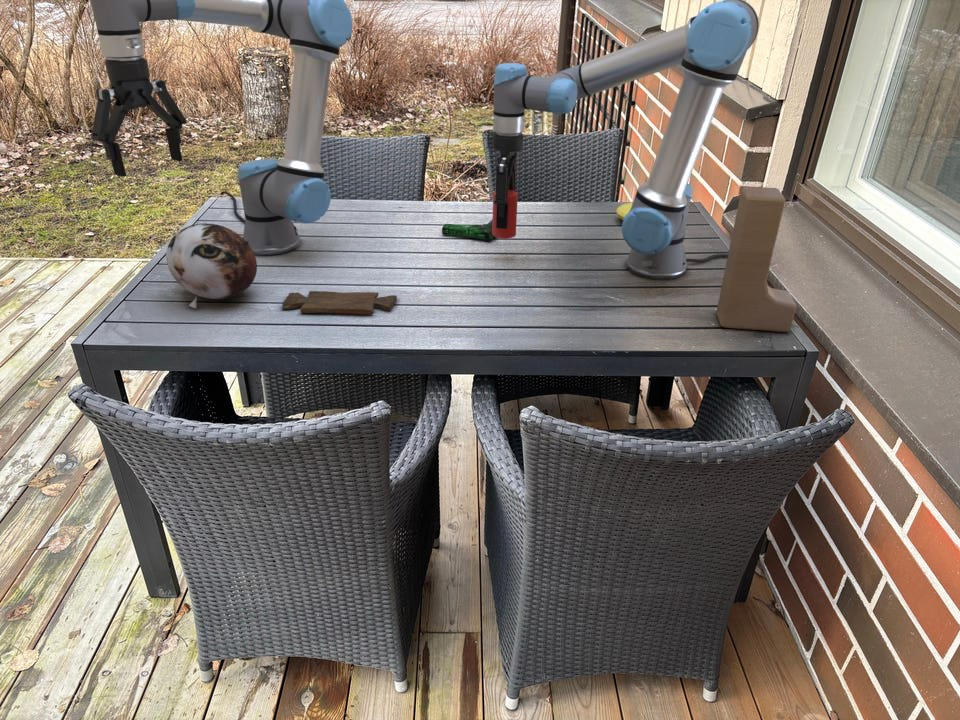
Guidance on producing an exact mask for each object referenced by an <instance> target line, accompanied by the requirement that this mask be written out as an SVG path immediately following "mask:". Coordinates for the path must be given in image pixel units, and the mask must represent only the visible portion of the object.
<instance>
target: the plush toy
mask: <svg viewBox="0 0 960 720" xmlns="http://www.w3.org/2000/svg"><path fill="white" fill-rule="evenodd" d="M248 242H249V241H246V240H245V239H244V238H243V236H242V235H240V234H239V233H238V232H236V231H234V230H233V229H231V228H229V227H226V226H223V225H220V224H215V223H205V222H204V223H195V224H191V225H188V226H186V227H183V228H182V229H180V230H179V231H177V232H176V233H175V234H174V235H173V237H171V239H170V241H169V243H168V245H167V248H166V254H165V260H166V265H167V268H168V271H169V273H170V275H171V276H172V277H173V279H174V280H175V281H176V282H177V284H178V285H180V286H181V287H182V288H183V289H185V290H186V291H187V292H189V293H191V294H194V295H195V298H194V299H193V300H192V302H190V303H189V304H188V306H189V307H191V308H192V309H197V308H198V307H197V298H198V297H201V298H205V299H210V300H226V299H230V298H233V297H236V296H238V295H241V294H242V293H244V292H245V291H247V290H248V289H249V288H250V286H251V285H252V284H253V282H254V280H255V278H256V275H257V271H258V262H257V257H256V254H254V252H253V250H252V248H251V247H250V245H249V244H248Z"/></svg>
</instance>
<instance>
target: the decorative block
mask: <svg viewBox="0 0 960 720" xmlns="http://www.w3.org/2000/svg"><path fill="white" fill-rule="evenodd" d="M785 205H786V198H785V196H784V195H783V193H782V192H781V191H780V189H779V188H777V187H766V186H765V187H764V186H748V185H747V186H746V185H745V186H742V187H741V190H740V195H739V200H738V205H737V209H736V215H735V219H734V225H733V229H732V233H731V234H732V235H731V238H730V242H729V249H728V253H727V254H728V257H726V263H725V268H724V273H723V277H722V283H721V287H720V292H719V297H718V302H717V307H716V316H717V318H718V321H719V325H720V327H721V328H727V329H740V330H754V331H767V332H780V333H789V332H791V330H792V325H793V322H794V318H795V315H796V311H797V303H796V301H795V300H794V298H793V296H792V295H791V293H790V292H789V291H788V290H783V289H778V288H774V287H771V286H769V285H768V276H769V272H770V266H771V262H772V259H773V254H774V250H775V247H776V242H777V238H778V234H779V230H780V225H781V221H782V217H783V212H784V208H785Z"/></svg>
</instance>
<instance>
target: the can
mask: <svg viewBox="0 0 960 720" xmlns="http://www.w3.org/2000/svg"><path fill="white" fill-rule="evenodd" d="M516 191H517V190H516ZM516 191H513V190H508V198H507V203H508V220H507V229H501V228H496V219H497V204H494V201H495V197H496V190H494V191H493V193H492V218H493V219H491V221H492V235H493V236H494V237H495V238H497V239H504V240H505V239H512V238H515V237H516V236H517V219H518V217H517V216H518V200H519V199H518V196H519V193H518V191H517V192H516Z"/></svg>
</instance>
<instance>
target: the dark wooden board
mask: <svg viewBox="0 0 960 720" xmlns="http://www.w3.org/2000/svg"><path fill="white" fill-rule="evenodd" d="M379 294H380V293H379V292H375V291H357V292H356V291H354V292H353V291H352V292H351V291H349V292H348V291H347V292H342V291H341V292H340V291H325V290H324V291H323V290H322V291H321V290H320V291H318V290H309V291H308V295H307V296H305V295H303V294H301V293H300V292H289V293H288V295H287V296H286V298H285V299H284V300H283V302H282V305H281V306H282V307H281V309H283V310H293V309H294V310H295V309H298V308H300V309H299V310H300V313H302V314H318V313H331V314H334V313H335V314H355V315H369V314H373V313H374V310H375V309H381V310H384V311H391V310H392V309H393V307H394V306H395V304H396V302H397V301H398V296H397V295H395V294H392V295H386V296H379Z"/></svg>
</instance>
